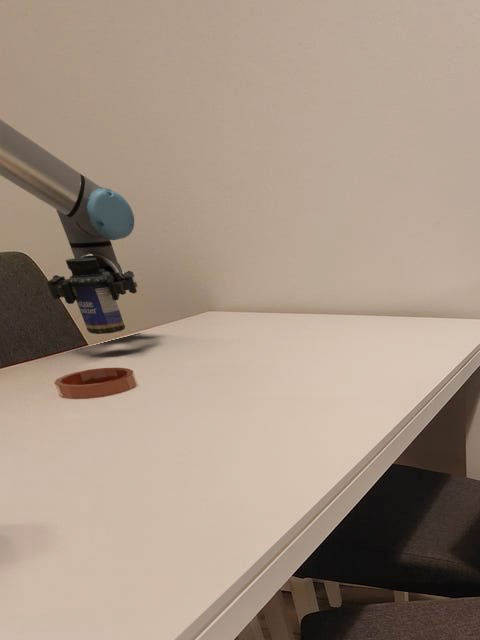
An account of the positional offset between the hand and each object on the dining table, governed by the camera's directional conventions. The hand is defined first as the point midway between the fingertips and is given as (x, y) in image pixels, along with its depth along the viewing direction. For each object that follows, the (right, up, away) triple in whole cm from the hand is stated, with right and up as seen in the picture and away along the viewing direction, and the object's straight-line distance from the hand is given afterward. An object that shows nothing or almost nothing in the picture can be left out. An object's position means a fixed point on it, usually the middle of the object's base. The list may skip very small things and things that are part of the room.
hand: (90, 292), depth 98 cm
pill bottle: (-2, -3, +8) cm, 8 cm away
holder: (+12, -24, -14) cm, 31 cm away
